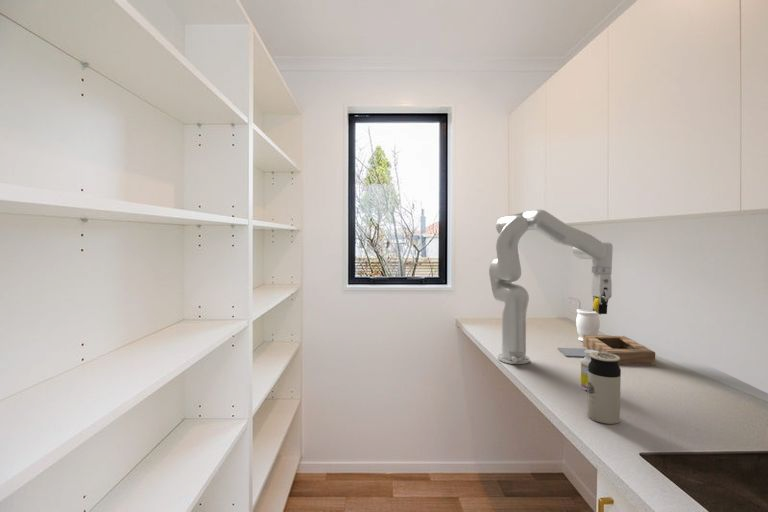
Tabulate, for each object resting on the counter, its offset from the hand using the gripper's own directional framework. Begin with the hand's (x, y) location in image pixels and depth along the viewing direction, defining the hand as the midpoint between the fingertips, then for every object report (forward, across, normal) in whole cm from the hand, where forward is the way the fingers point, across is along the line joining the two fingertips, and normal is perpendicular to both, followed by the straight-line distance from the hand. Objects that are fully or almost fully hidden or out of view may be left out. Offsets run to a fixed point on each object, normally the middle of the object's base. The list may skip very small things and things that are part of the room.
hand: (599, 312), depth 170 cm
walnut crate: (+18, 0, -8) cm, 20 cm away
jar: (+18, +23, -4) cm, 30 cm away
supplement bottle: (+20, -42, +17) cm, 49 cm away
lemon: (+1, 0, 0) cm, 1 cm away
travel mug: (+20, -64, +22) cm, 70 cm away
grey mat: (+19, 0, +9) cm, 21 cm away
